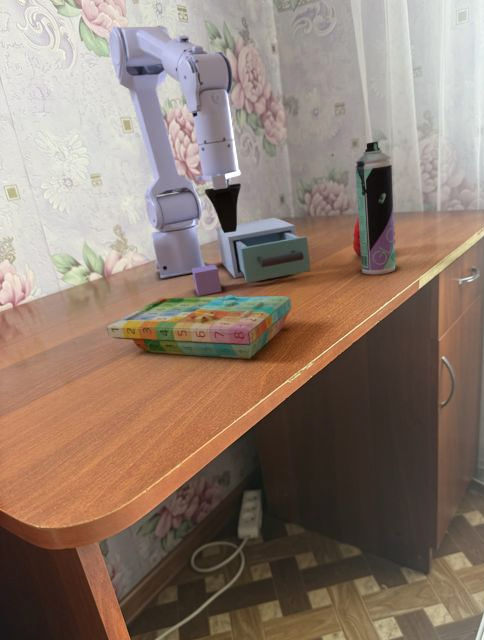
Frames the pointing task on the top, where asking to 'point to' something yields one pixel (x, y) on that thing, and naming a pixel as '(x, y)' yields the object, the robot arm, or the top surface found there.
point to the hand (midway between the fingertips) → (230, 231)
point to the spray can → (375, 211)
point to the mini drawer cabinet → (246, 232)
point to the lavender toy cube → (206, 280)
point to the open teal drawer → (271, 256)
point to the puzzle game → (205, 325)
